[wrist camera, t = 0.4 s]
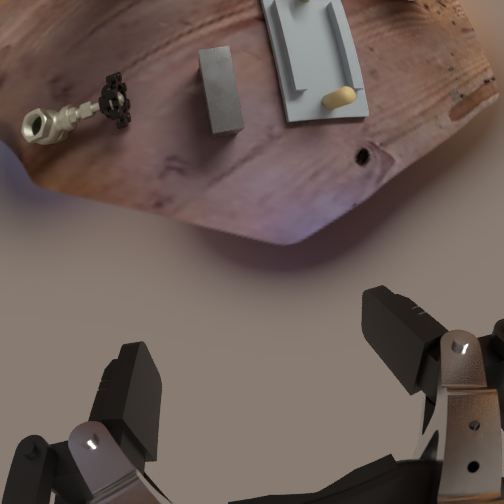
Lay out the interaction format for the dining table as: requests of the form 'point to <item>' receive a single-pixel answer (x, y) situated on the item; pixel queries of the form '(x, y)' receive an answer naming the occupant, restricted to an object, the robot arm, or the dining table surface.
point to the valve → (77, 114)
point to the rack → (315, 59)
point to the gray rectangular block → (220, 91)
